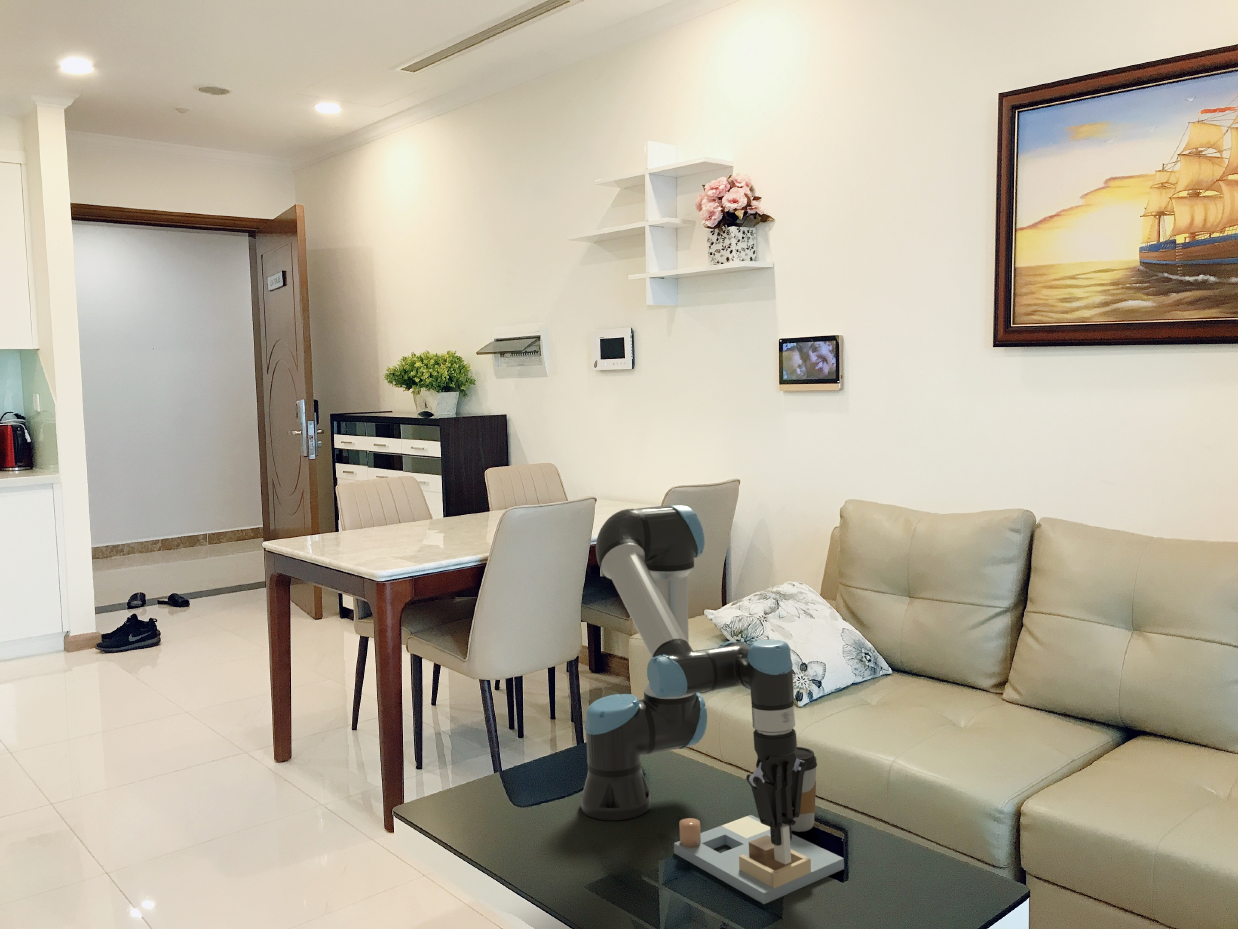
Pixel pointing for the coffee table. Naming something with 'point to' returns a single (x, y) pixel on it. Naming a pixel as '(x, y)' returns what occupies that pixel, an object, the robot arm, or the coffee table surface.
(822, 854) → the board
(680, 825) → the beige cylinder
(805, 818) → the coffee cup
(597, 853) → the coffee table surface
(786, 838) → the robot arm
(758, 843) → the walnut cube
